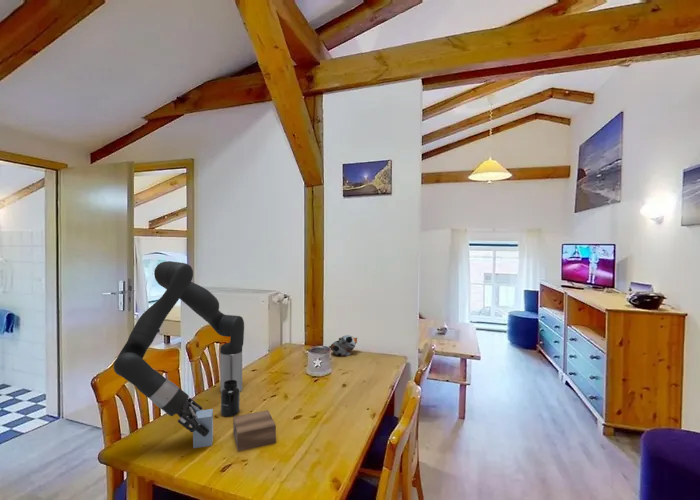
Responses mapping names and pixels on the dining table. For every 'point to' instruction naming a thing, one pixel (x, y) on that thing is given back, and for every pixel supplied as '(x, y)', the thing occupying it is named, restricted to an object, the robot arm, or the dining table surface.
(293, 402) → the dining table surface
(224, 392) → the supplement bottle
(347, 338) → the grey toy figure
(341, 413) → the dining table surface
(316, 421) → the dining table surface
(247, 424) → the walnut box
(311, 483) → the dining table surface
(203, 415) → the blue-gray rectangular block
